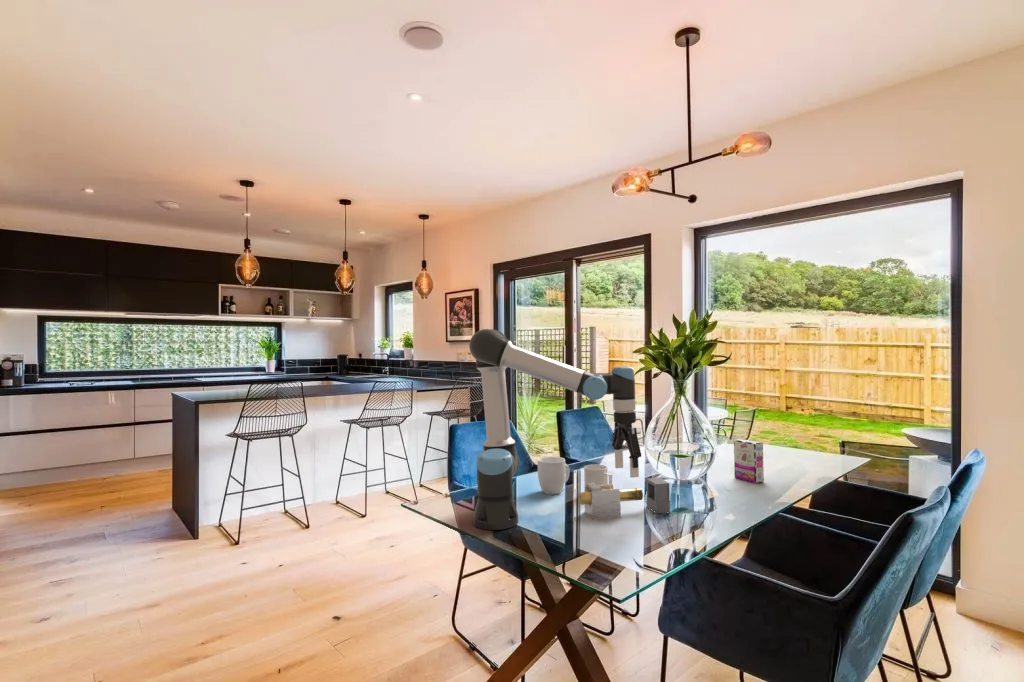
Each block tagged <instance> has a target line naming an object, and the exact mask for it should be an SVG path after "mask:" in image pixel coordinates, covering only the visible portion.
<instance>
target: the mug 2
mask: <svg viewBox="0 0 1024 682" xmlns="http://www.w3.org/2000/svg"><path fill="white" fill-rule="evenodd" d="M583 467H584V469H583V470H584V471H583V473H584V476H583V479H584V480H583V481H584V487H585V486H586V483H592V482H594V483H596V484H597V485H604V484H613V474H612V473H609V471H608V466H606V465H605V464H604V465H603V464H588V465H585V466H583Z"/></svg>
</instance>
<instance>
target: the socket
mask: <svg viewBox="0 0 1024 682" xmlns="http://www.w3.org/2000/svg"><path fill="white" fill-rule="evenodd" d="M645 480H646V483H645V484H646V508H647V507H649V508H650V509H652V510H653V511H655V512H656V513H663V514H668V513H667V512H670V513H671V498H670V496H671V495H670V493H671V491H670V482H668V481H666V480H664V479H663V478H660V477H651V478H650V477H649V478H646V479H645ZM649 508H648V509H649ZM650 509H649V510H650ZM652 510H651V511H652ZM653 511H652V512H653ZM655 512H654V513H655ZM656 513H655V514H656Z"/></svg>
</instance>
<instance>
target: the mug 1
mask: <svg viewBox="0 0 1024 682" xmlns="http://www.w3.org/2000/svg"><path fill="white" fill-rule="evenodd" d="M570 472H571V471H570V467H569V465H568V464H567V463H566V459H565V458H564V457H560V456H543V457H539V458H537V478H538V483H539V486H540V489H541V490H542V492H543V494H547V495H551V496H553V495H558V494H560V493H561V492H562V490H563V489H564V484H566V483H567V482H568V480H569V478H570Z"/></svg>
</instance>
